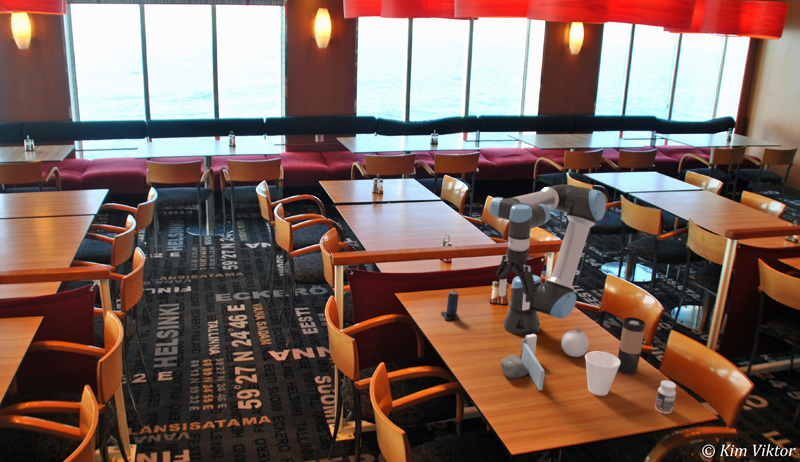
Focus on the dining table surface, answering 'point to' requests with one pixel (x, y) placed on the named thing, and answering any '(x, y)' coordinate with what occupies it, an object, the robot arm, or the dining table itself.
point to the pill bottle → (665, 397)
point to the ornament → (575, 343)
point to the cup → (600, 371)
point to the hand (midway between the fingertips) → (513, 302)
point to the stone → (513, 367)
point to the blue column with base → (451, 306)
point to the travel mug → (630, 345)
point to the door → (532, 365)
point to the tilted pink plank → (531, 342)
